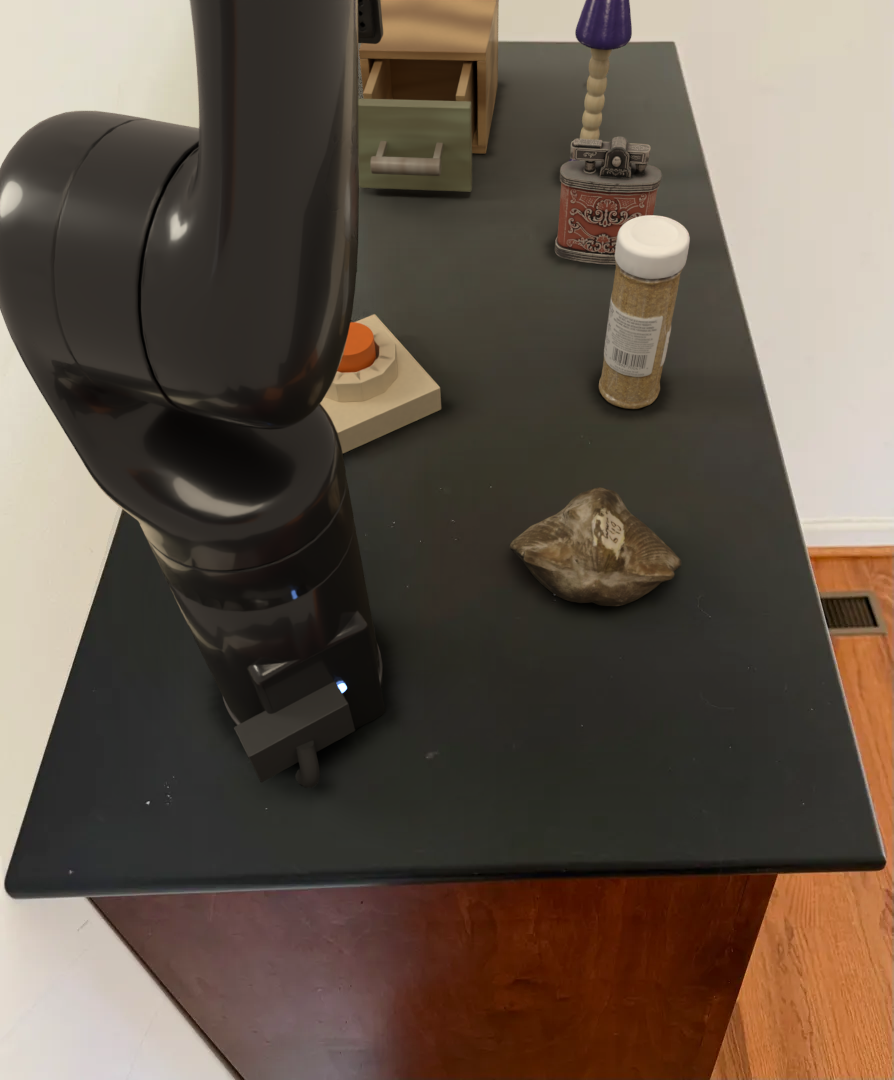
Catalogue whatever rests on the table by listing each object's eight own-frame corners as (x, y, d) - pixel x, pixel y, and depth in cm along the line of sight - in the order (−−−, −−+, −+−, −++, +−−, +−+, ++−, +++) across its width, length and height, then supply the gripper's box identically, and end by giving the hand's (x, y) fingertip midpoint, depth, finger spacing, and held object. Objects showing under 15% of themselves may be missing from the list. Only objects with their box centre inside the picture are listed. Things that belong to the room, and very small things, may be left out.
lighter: (649, 244, 79) (667, 132, 71) (647, 267, 77) (666, 155, 69) (556, 237, 80) (564, 127, 72) (552, 260, 78) (560, 149, 70)
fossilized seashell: (489, 581, 55) (644, 652, 53) (529, 484, 52) (693, 557, 50) (518, 539, 61) (656, 601, 60) (554, 452, 59) (700, 515, 57)
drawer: (466, 218, 81) (464, 133, 74) (351, 213, 82) (340, 130, 75) (483, 122, 91) (483, 40, 84) (381, 119, 92) (373, 38, 86)
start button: (384, 361, 65) (382, 343, 64) (340, 380, 64) (337, 361, 63) (361, 334, 67) (358, 315, 66) (317, 352, 66) (314, 333, 65)
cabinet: (485, 153, 89) (486, 52, 81) (369, 150, 90) (358, 49, 82) (497, 86, 97) (498, -12, 89) (390, 83, 98) (382, -14, 90)
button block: (441, 409, 67) (439, 368, 64) (333, 458, 65) (325, 418, 61) (377, 335, 73) (372, 294, 69) (275, 378, 70) (265, 337, 67)
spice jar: (670, 387, 68) (705, 229, 57) (636, 421, 66) (665, 263, 55) (619, 361, 70) (643, 203, 59) (584, 393, 68) (603, 235, 57)
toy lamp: (609, 163, 87) (632, -30, 74) (617, 190, 84) (642, -5, 71) (559, 166, 87) (573, -26, 74) (566, 193, 84) (581, -2, 71)
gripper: (391, -247, 48) (411, 64, 61) (441, -313, 56) (450, -27, 69) (256, -248, 49) (304, 58, 62) (325, -313, 57) (355, -31, 70)
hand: (381, 13), depth 66 cm, fingers open, 8 cm apart
